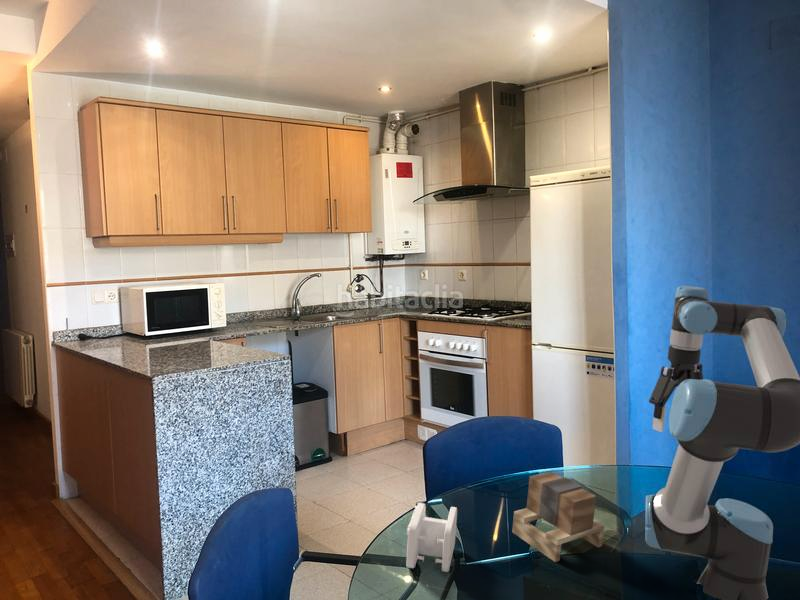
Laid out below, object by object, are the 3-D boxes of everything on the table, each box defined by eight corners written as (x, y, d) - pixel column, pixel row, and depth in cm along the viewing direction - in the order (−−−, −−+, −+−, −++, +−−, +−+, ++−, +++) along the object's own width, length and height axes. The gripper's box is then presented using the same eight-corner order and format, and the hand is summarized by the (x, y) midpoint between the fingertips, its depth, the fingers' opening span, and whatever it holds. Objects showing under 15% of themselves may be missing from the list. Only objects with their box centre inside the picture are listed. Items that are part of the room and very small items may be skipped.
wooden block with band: (593, 528, 166) (596, 494, 164) (569, 535, 161) (573, 500, 160) (548, 502, 179) (551, 470, 178) (526, 508, 175) (529, 475, 173)
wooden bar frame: (601, 546, 169) (604, 524, 168) (555, 562, 160) (557, 539, 159) (557, 518, 182) (559, 499, 181) (512, 532, 173) (514, 511, 172)
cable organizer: (447, 580, 150) (451, 533, 148) (403, 572, 152) (406, 526, 150) (455, 547, 164) (458, 504, 162) (414, 540, 166) (417, 498, 164)
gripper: (700, 340, 173) (690, 415, 177) (640, 347, 160) (630, 428, 164) (727, 346, 167) (716, 424, 170) (667, 354, 154) (656, 438, 157)
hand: (674, 426), depth 167 cm, fingers open, 13 cm apart
